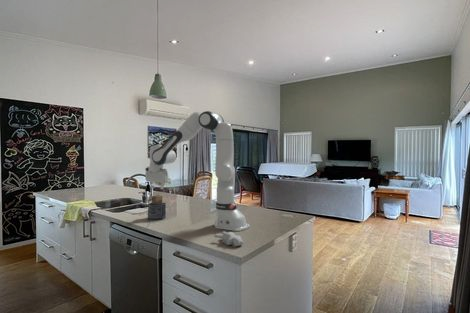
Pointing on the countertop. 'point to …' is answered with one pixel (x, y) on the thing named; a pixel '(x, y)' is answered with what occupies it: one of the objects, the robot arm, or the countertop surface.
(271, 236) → the countertop surface
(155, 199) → the walnut cube
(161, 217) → the small box
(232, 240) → the bunny figurine
